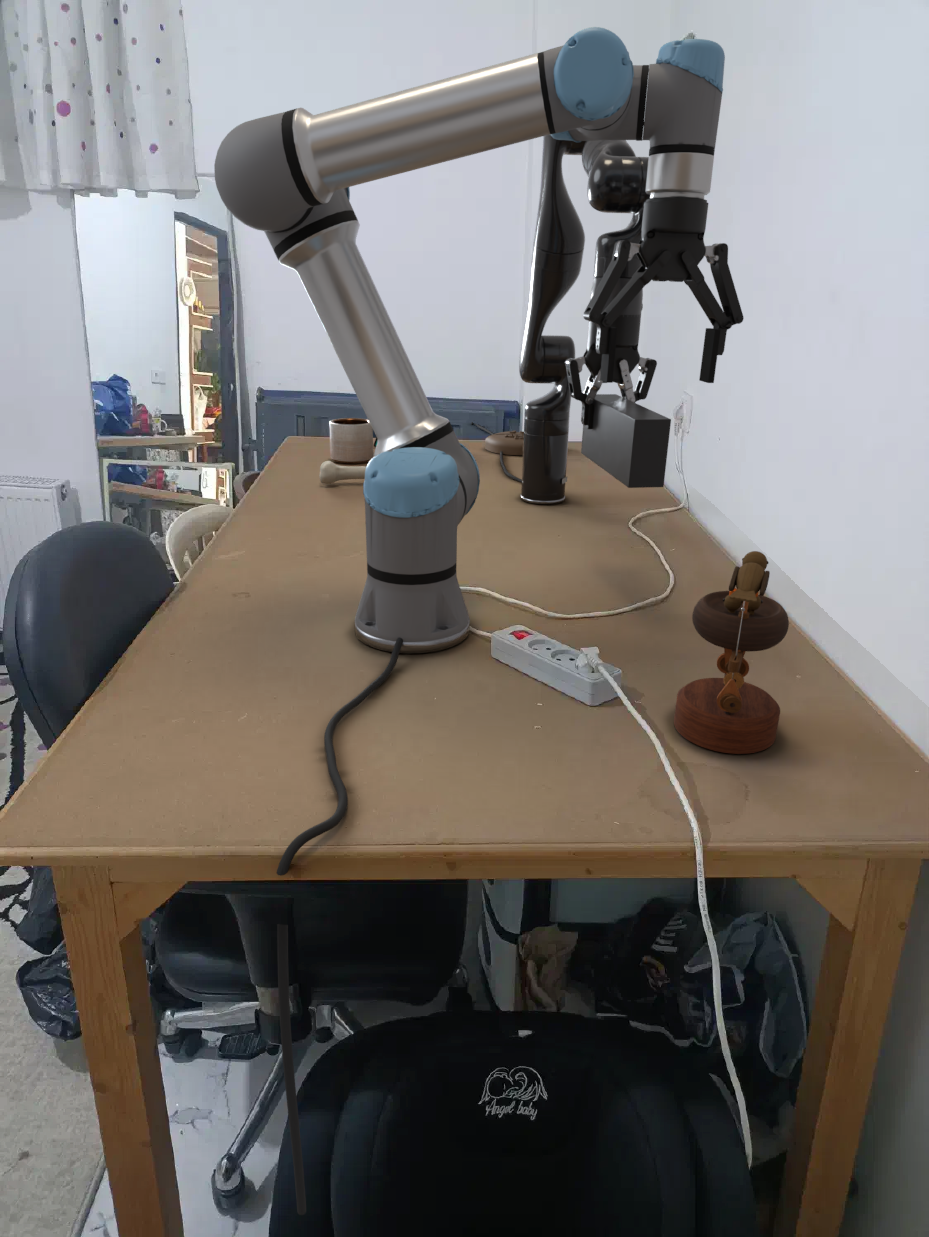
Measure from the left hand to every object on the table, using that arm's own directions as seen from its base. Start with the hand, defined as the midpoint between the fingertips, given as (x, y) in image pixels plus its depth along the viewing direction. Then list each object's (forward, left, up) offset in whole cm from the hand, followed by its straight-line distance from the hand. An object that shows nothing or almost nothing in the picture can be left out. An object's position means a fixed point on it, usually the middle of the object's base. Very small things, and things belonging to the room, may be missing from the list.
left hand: (656, 382), depth 109 cm
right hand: (+19, +5, -9) cm, 22 cm away
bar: (+12, +3, -14) cm, 19 cm away
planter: (+95, +63, -32) cm, 119 cm away
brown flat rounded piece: (+111, +19, -32) cm, 117 cm away
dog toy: (+71, +54, -32) cm, 95 cm away
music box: (-32, -7, -32) cm, 46 cm away
